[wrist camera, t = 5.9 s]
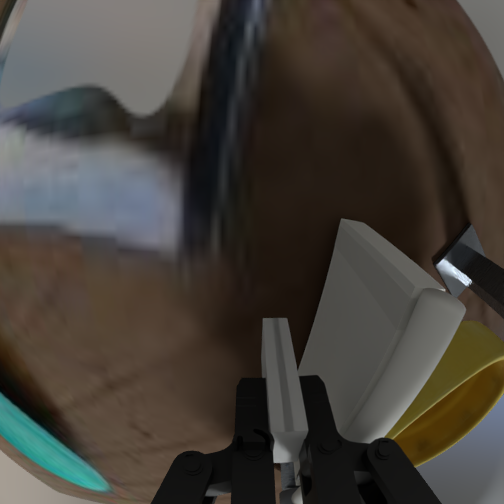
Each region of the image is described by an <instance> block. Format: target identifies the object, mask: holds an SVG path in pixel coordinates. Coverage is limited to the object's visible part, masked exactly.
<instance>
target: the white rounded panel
mask: <svg viewBox="0 0 504 504" xmlns="http://www.w3.org/2000/svg"><path fill="white" fill-rule="evenodd" d="M445 290H446V289H445V288H444V287H442V286H441V285H440V284H439V283H438V282H437V281H436V280H435V279H433V278H432V277H431V276H430V275H429V274H428V273H426V272H425V271H424V270H423V269H422V268H421V267H419V266H418V265H417V264H416V263H415V262H413V261H412V260H411V259H410V258H409V257H407V256H406V255H405V254H404V253H402V252H401V251H400V250H399V249H397V248H396V247H395V246H394V245H392V244H391V243H390V242H389V241H387V240H386V239H385V238H383V237H382V236H381V235H380V234H378V233H377V232H376V231H374V230H373V229H372V228H370V227H369V226H368V225H366V224H365V223H364V222H358V221H353V220H348V219H342V218H341V221H340V225H339V229H338V233H337V237H336V241H335V247H334V251H333V255H332V259H331V263H330V267H329V271H328V274H327V278H326V282H325V285H324V289H323V293H322V296H321V300H320V303H319V306H318V310H317V313H316V316H315V320H314V323H313V326H312V329H311V333H310V336H309V339H308V342H307V345H306V348H305V351H304V354H303V357H302V360H301V363H300V366H299V369H298V376H307V375H318V376H319V377H320V378H321V379H322V381H323V382H324V383H325V387H326V390H327V394H328V398H329V402H330V405H331V409H332V413H333V417H334V420H335V424H336V428H337V431H338V433H339V434H340V435H341V436H342V437H343V438H344V439H346V440H348V441H352V442H358V443H371V442H372V441H374V440H375V439H378V438H381V437H383V438H384V437H385V435H386V434H387V433H388V432H389V431H390V430H391V428H392V427H393V426H394V425H395V424H396V422H397V421H398V420H399V419H400V417H401V416H402V415H403V414H404V412H405V411H406V410H407V408H408V407H409V406H410V404H411V403H412V402H413V400H414V399H415V397H416V396H417V395H418V393H419V392H420V390H421V389H422V387H423V386H424V385H425V383H426V382H427V380H428V379H429V377H430V375H431V374H432V372H433V371H434V369H435V368H436V366H437V364H438V363H439V361H440V359H441V358H442V356H443V354H444V353H445V351H446V349H447V347H448V345H449V344H450V342H451V340H452V338H453V336H454V334H455V332H456V330H457V329H458V327H459V325H460V323H461V320H462V318H463V316H464V314H465V312H466V308H465V306H464V305H463V304H462V302H461V301H459V300H458V299H457V298H455V297H454V296H452V295H451V294H449V293H447V292H445ZM299 469H300V462H299V458H298V461H297V462H294V472H295V482H296V486H299V485H300V479H299V480H296V478H297V474H298V471H299ZM279 495H280V504H303V501H302V493H301V486H300V487H298V488H292V489H287V490H284V491H282V492H280V494H279Z"/></svg>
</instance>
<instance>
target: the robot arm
mask: <svg viewBox="0 0 504 504" xmlns="http://www.w3.org/2000/svg"><path fill="white" fill-rule="evenodd" d="M261 362H262V378H242V379H241V380H240V382H239V384H238V385H237V393H236V418H235V435H234V437H233V440H232V443H231V444H230V445H229V446H228V447H227V448H225V449H224V450H221V451H218V452H214V453H209V454H203V453H201V452H198V451H186V452H183V453H181V454H179V455H178V456H177V457H176V458H175V459H174V461H173V463H172V465H171V467H170V469H169V471H168V473H167V474H166V476H165V478H164V480H163V482H162V484H161V486H160V488H159V489H158V491H157V493H156V495H155V497H154V499H153V501H152V502H151V504H214V503H215V500H216V498H217V495H222V494H226V493H230V492H231V504H276V500H275V480H274V463H284V462H297V461H298V458H299V462H300V469H299V471H298V474H297V478H296V480H299V479H300V485H301V493H302V501H303V504H441V502H440V501H439V499H438V498H437V497H436V495H435V494H434V493H433V491H432V490H431V488H430V487H429V486H428V484H427V483H426V482H425V480H424V479H423V478H422V476H421V475H420V473H419V472H418V471H417V470H416V468H415V467H414V465H413V464H412V462H411V461H410V460H409V458H408V457H407V456H406V454H405V453H404V452H403V450H402V449H401V447H400V446H399V445H398V444H397V443H396V442H395V441H394V440H392V439H390V438H383V437H381V438H378V439H375V440H374V441H372V442H371V443H358V442H352V441H348V440H346V439H344V438H343V437H342V436H341V435H340V434H339V433H338V431H337V428H336V424H335V420H334V417H333V413H332V409H331V405H330V402H329V398H328V394H327V390H326V387H325V383H324V382H323V381H322V379H321V378H320V377H319V376H318V375H307V376H298V371H297V365H296V360H295V355H294V350H293V345H292V340H291V335H290V330H289V325H288V320H287V318H263V328H262V352H261Z"/></svg>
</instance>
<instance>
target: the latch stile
mask: <svg viewBox="0 0 504 504" xmlns="http://www.w3.org/2000/svg"><path fill="white" fill-rule="evenodd" d="M433 265H434V267H435V268H436V270H437V272H438V273H439V275H440V277H441V279H442V280H443V282H444V284H445V285H446V287H447V289H448V291H449V293H450V294H451V295H452V296H454V297H455V298H457V297H458V296H459V295H460V294H461V293H462V291H463V290H464V289H465V288H466V287H468V288H469V289H471V290H472V291H473V292H474V293H475V294H477V295H478V296H479V297H480V298H481V299H482V300H483V301H485V302H486V303H487V304H488V305H489V306H490V307H491V308H492V309H494V310H495V311H496V312H497V313H498V314H499V315H500V316H501V317H502V318H503V319H504V269H503V268H501V267H500V266H498V265H497V264H495V263H494V262H492V261H491V260H489V259H488V258H486V257H485V254H484V251H483V249H482V246H481V244H480V242H479V239H478V237H477V234H476V232H475V230H474V228H473V226H472V224H470V223H468V224H467V225H466V227H465V228H464V229H463V230H462V232H461V233H460V234H459V235H458V236H457V238H456V239H455V240H454V241H453V242H452V244H451V245H450V246H449V247H448V248H447V249H446V250H445V252H444V253H443V254H442V255H441V256H440V257H439V258H438V259H437V261H436V262H435V263H434V264H433Z"/></svg>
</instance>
